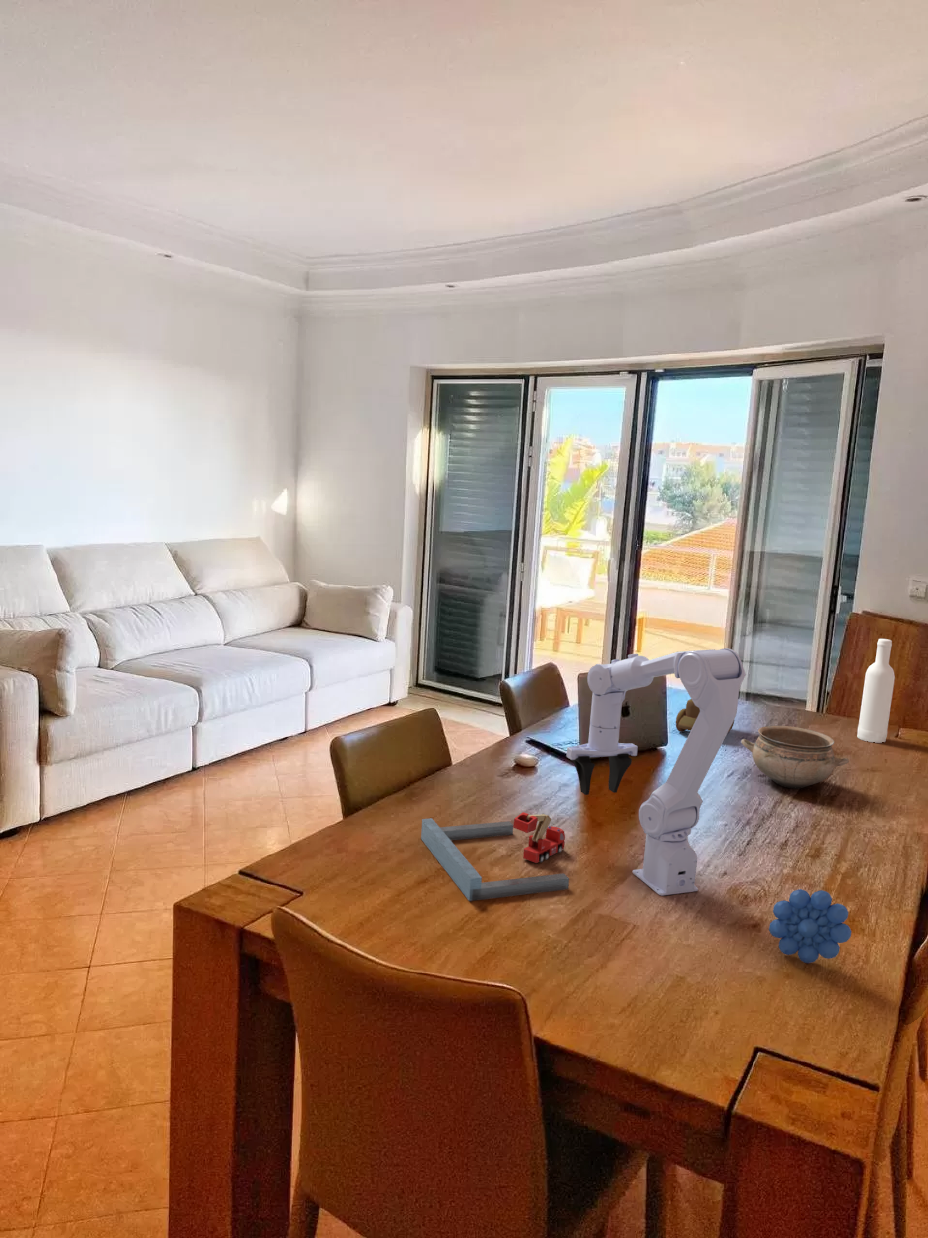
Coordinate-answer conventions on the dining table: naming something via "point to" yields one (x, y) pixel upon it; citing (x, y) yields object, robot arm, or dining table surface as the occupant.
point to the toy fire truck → (540, 836)
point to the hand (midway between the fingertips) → (598, 792)
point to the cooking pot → (793, 755)
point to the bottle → (877, 696)
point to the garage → (465, 872)
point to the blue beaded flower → (810, 925)
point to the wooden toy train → (688, 717)
